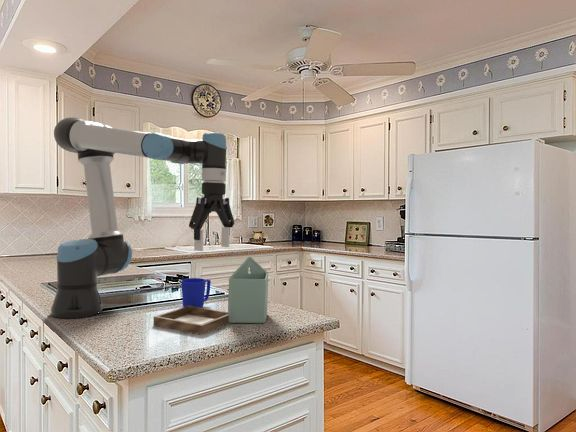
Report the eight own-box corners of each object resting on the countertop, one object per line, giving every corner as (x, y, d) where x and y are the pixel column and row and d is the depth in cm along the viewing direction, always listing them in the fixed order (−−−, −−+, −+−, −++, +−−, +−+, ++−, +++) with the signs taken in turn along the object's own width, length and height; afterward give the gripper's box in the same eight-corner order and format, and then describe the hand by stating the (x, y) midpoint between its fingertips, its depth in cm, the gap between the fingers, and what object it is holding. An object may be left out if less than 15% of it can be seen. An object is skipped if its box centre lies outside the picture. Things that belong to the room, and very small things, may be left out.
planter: (244, 328, 129) (246, 261, 128) (227, 322, 135) (228, 258, 134) (282, 317, 141) (284, 257, 140) (265, 312, 147) (267, 254, 146)
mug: (217, 306, 155) (218, 278, 155) (193, 313, 145) (193, 283, 145) (200, 302, 160) (201, 275, 159) (175, 309, 150) (176, 280, 149)
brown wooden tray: (153, 325, 131) (153, 316, 131) (188, 313, 145) (188, 305, 145) (201, 334, 123) (202, 325, 123) (233, 321, 137) (234, 312, 137)
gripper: (197, 180, 127) (195, 253, 128) (245, 183, 149) (244, 246, 150) (177, 180, 131) (176, 251, 132) (227, 183, 153) (226, 244, 154)
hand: (212, 248), depth 141 cm, fingers open, 13 cm apart
